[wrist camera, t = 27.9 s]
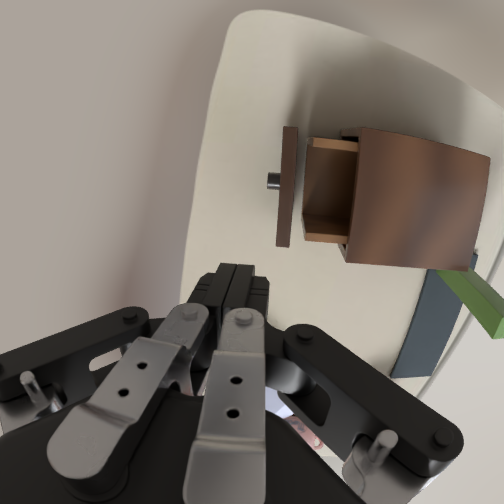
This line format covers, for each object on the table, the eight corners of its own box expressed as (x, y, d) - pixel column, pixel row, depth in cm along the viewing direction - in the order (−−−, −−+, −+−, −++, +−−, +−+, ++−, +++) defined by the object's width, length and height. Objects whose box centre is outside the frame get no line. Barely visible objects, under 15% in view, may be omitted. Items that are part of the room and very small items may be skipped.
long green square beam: (440, 254, 33) (502, 317, 19) (457, 256, 33) (520, 316, 19) (435, 272, 34) (492, 339, 20) (452, 273, 34) (510, 337, 20)
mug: (255, 433, 50) (252, 458, 45) (266, 405, 46) (263, 432, 41) (314, 441, 50) (315, 465, 44) (332, 413, 46) (334, 440, 41)
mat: (432, 249, 33) (434, 250, 33) (476, 253, 33) (478, 255, 32) (389, 376, 42) (390, 378, 41) (429, 373, 41) (430, 376, 40)
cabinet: (330, 229, 34) (345, 262, 25) (340, 129, 30) (361, 126, 21) (431, 239, 33) (467, 272, 24) (445, 149, 29) (490, 157, 20)
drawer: (267, 221, 34) (262, 245, 27) (272, 128, 30) (268, 125, 23) (383, 231, 33) (407, 257, 25) (395, 143, 29) (425, 146, 21)
